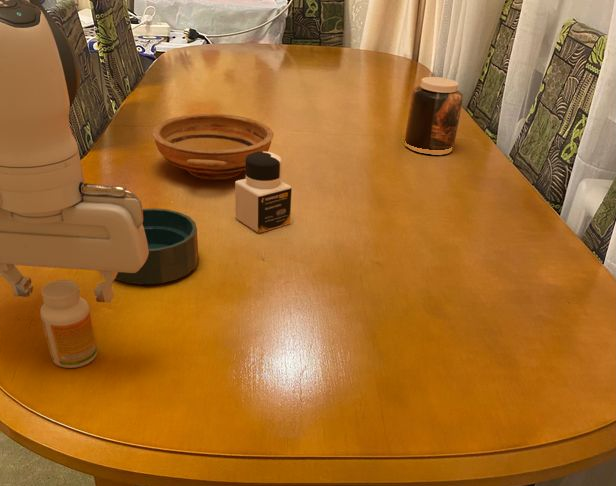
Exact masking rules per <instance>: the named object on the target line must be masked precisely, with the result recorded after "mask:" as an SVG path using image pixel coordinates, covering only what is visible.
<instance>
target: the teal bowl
mask: <svg viewBox="0 0 616 486" xmlns="http://www.w3.org/2000/svg"><path fill="white" fill-rule="evenodd" d="M142 209H143V222H142V224H143V227H144V231H145V234H146V239H147V243H148V249H149V255H148V258H147V260H146V262H145V263H144V265H143V266H142V267H141V268H140V269H139V271H137V272H136V273H124V272H118V274H117V276H116V278H115V280H118V281H121V282H125V283H129V284H136V285H137V284H138V285H155V284H156V285H157V284H164V283H168V282H172V281H173V282H174V281H176V280H178V279H181V278H183V277H185V276H187V275H189V274H190V273H191V272H192V271H194V270H195V269H196V268H197V265H198V264H199V261H200V259H199V257H200V256H199V242H198V241H199V240H198V227H197V223H196V222H195V220H193V218H192V217H190V216H189V215H187V214H185V213H182V212H179V211H176V210H171V209H166V208H151V207H150V208H142Z"/></svg>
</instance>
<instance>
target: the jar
mask: <svg viewBox="0 0 616 486" xmlns="http://www.w3.org/2000/svg"><path fill="white" fill-rule="evenodd" d="M458 87H459V82H458V81H457V80H454V79H451V78H447V77H441V76H425V77H423V78H421V81H420V84H419V85H418V86H415V87H414V88H413V90H412V93H411V98H410V103H409V109H408V116H407V121H406V129H405V136H404V142H405V141H406V143H407V144H409V145H411V146H414V147H417V148H422V149H429V150H445V149H449V148H451V147H453V145H454V146H455V143H456V138H457V132H458V127H459V121H460V117H461V111H462V107H463V98H464V97H463V96H464V95H463V93H462V92H461V91H459V90H458ZM453 148H454V147H453Z"/></svg>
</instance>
